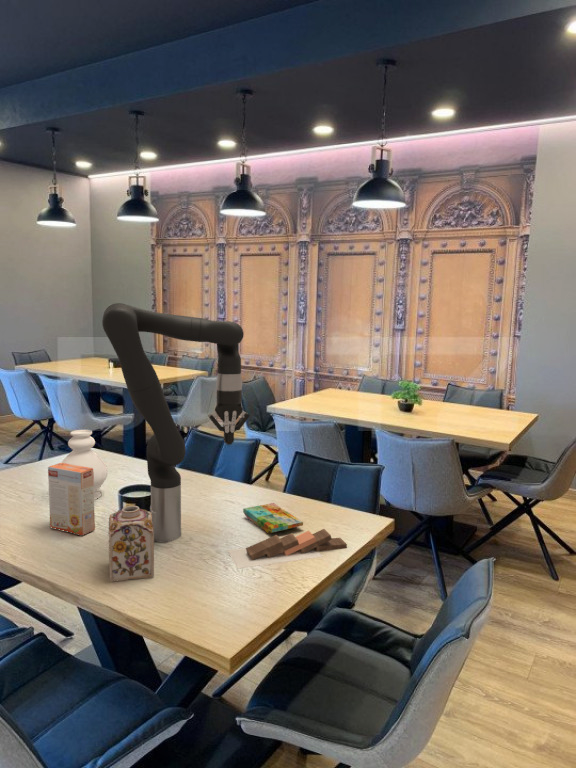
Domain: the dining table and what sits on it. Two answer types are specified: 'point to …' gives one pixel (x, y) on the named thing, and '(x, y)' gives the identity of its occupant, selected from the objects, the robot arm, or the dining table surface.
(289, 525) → the puzzle game
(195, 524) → the dining table surface
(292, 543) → the domino
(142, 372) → the robot arm
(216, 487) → the dining table surface
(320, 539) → the domino
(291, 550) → the domino
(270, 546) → the domino
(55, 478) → the cracker box
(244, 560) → the mat
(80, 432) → the decorative vase
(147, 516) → the decorative jar
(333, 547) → the domino
